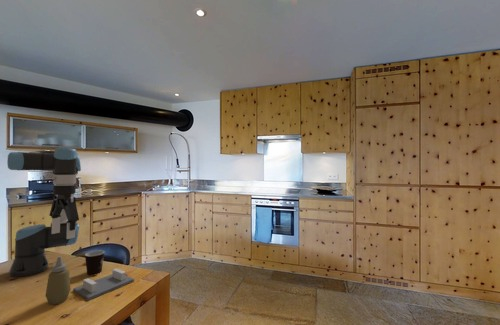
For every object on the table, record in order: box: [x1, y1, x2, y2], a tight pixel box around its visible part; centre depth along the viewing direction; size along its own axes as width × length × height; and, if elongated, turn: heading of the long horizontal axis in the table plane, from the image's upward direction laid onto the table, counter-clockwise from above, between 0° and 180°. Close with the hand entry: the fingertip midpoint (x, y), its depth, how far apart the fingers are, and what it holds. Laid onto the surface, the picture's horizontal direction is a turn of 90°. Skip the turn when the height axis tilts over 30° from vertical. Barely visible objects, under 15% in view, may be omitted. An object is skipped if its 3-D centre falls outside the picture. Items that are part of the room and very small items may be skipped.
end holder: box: [72, 267, 135, 301], centre depth 111 cm, size 14×20×5 cm
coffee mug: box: [84, 250, 105, 276], centre depth 126 cm, size 12×9×10 cm
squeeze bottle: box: [45, 256, 71, 306], centre depth 98 cm, size 8×8×18 cm
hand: (63, 235), depth 99 cm, fingers open, 13 cm apart
